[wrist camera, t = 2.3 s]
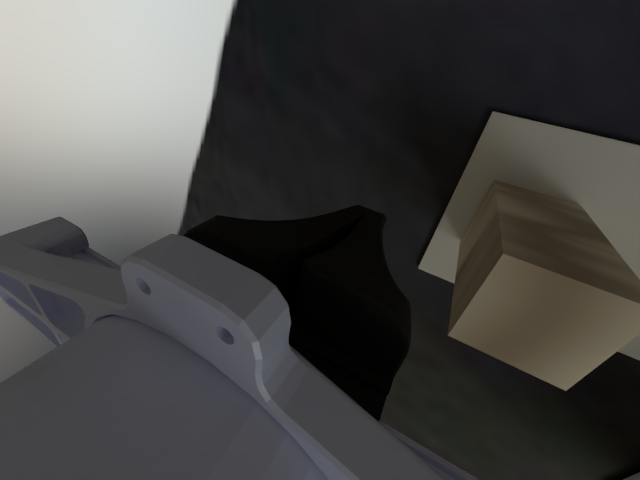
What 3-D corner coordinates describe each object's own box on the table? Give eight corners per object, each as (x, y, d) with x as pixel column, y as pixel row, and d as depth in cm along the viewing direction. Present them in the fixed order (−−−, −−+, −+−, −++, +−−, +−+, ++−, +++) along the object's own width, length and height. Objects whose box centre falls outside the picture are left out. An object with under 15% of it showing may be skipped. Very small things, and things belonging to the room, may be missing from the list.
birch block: (581, 205, 14) (666, 313, 7) (532, 267, 16) (565, 391, 10) (493, 179, 15) (503, 253, 9) (460, 240, 17) (447, 335, 11)
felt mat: (964, 220, 9) (977, 224, 9) (693, 379, 15) (696, 384, 15) (492, 110, 14) (492, 111, 14) (418, 266, 19) (417, 268, 19)
